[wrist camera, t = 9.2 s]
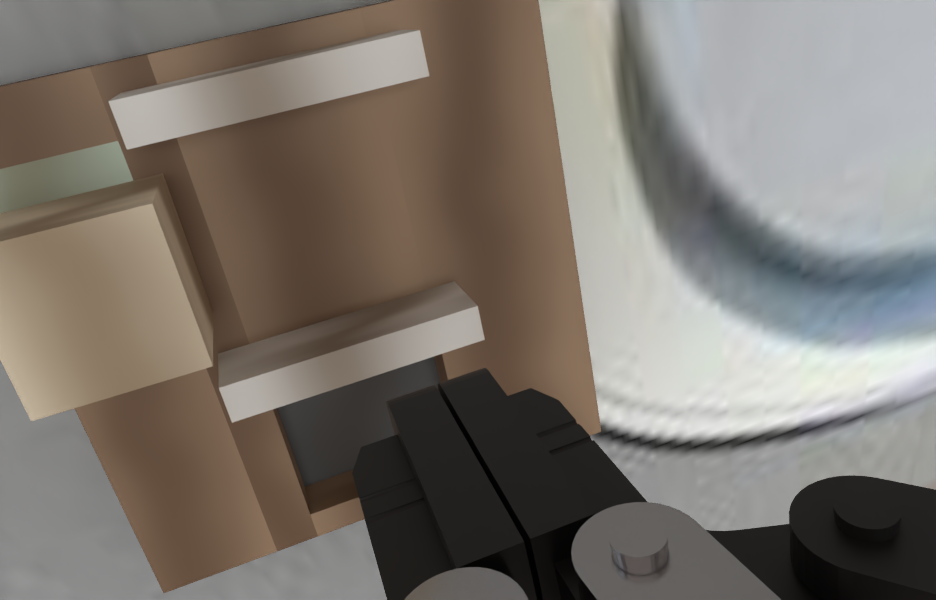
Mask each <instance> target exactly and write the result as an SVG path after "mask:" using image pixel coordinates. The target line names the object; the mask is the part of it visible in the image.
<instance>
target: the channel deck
mask: <svg viewBox="0 0 936 600" xmlns="http://www.w3.org/2000/svg"><path fill="white" fill-rule="evenodd" d="M159 174H163V175H164V178H165V181H166V184H167V186H168V189H169V192H170V195H171V197H172V200H173V203H174V206H175V208H176V211H177V214H178V217H179V220H180V222H181V225H182V228H183V231H184V233H185V236H186V239H187V242H188V245H189V247H190V250H191V253H192V256H193V258H194V261H195V264H196V267H197V269H198V272H199V275H200V278H201V281H202V283H203V286H204V289H205V292H206V294H207V297H208V300H209V303H210V305H211V308H212V311H213V366H212V367H209V368H206V369H202V370H199V371H196V372H193V373H189V374H186V375H183V376H179V377H176V378H173V379H169V380H166V381H163V382H160V383H156V384H153V385H150V386H146V387H143V388H140V389H136V390H133V391H130V392H127V393H123V394H120V395H117V396H113V397H110V398H107V399H103V400H100V401H97V402H94V403H90V404H87V405H84V406H80V407H77V408H75V410H76V412H77V415H78V417H79V419H80V421H81V423H82V425H83V427H84V429H85V431H86V433H87V435H88V437H89V439H90V441H91V444H92V446H93V448H94V450H95V452H96V454H97V456H98V458H99V460H100V462H101V464H102V466H103V468H104V470H105V473H106V475H107V477H108V479H109V481H110V483H111V485H112V487H113V489H114V491H115V493H116V495H117V497H118V499H119V502H120V504H121V506H122V508H123V510H124V512H125V514H126V516H127V518H128V520H129V522H130V524H131V526H132V528H133V531H134V533H135V535H136V537H137V539H138V541H139V543H140V545H141V547H142V549H143V551H144V553H145V555H146V557H147V560H148V562H149V564H150V566H151V568H152V570H153V572H154V574H155V576H156V578H157V580H158V582H159V584H160V586H161V589H162V591H163V593H166V592H168V591H171V590H174V589H176V588H179V587H182V586H184V585H187V584H190V583H193V582H195V581H198V580H201V579H203V578H206V577H209V576H212V575H214V574H217V573H220V572H222V571H225V570H228V569H230V568H233V567H236V566H239V565H241V564H244V563H247V562H249V561H252V560H255V559H258V558H260V557H263V556H266V555H268V554H271V553H274V552H276V551H279V550H282V549H285V548H287V547H290V546H293V545H295V544H298V543H301V542H303V541H306V540H309V539H312V538H314V537H317V536H320V535H322V534H325V533H328V532H331V531H333V530H336V529H339V528H341V527H344V526H347V525H349V524H352V523H355V522H358V521H360V520H363V519H365V518H364V514H363V511H362V507H361V503H360V500H359V496H358V493H357V489H356V485H355V482H354V478H353V475H352V472H353V469H354V466H355V463H356V460H357V457H358V454H359V451H360V449H361V447H363V446H365V445H368V444H371V443H374V442H377V441H380V440H383V439H386V438H388V437H391V436H394V435H395V434H394V430H393V427H392V423H391V420H390V416H389V413H388V409H387V405H386V401H388V400H391V399H394V398H397V397H400V396H403V395H406V394H409V393H412V392H415V391H418V390H421V389H423V388H426V387H429V386H432V385H435V386H436V388H437V384H438V383H441V382H444V381H447V380H450V379H453V378H456V377H459V376H461V375H464V374H467V373H470V372H473V371H476V370H479V369H482V368H486V369H488V371H489V372H490V373H491V375H492V376H493V377H494V379H495V380H496V381H497V383H498V384H499V385H500V387H501V388H502V389H503V391H504V392H505V393H506V395H507V396H509V395H512V394H515V393H517V392H520V391H523V390H526V389H529V388H532V389H534V390H537V391H539V392H541V393H544V394H546V395H548V396H551V397H553V398H555V399H557V400H559V401H560V402H561V403H562V404H563V406H564V407H565V408H566V409H567V410H568V411H569V413H570V414H571V415H572V416H573V417H574V418H575V419H576V422H577V424H580V425H581V426H582V427H583V429H584V430H585V431H586V432H587V433H588V434H589V436H590V435H593V434H596V433H598V432H601V427H600V420H599V413H598V406H597V400H596V393H595V386H594V379H593V372H592V365H591V359H590V352H589V345H588V338H587V331H586V324H585V318H584V311H583V304H582V297H581V290H580V283H579V276H578V270H577V263H576V256H575V249H574V242H573V235H572V229H571V222H570V215H569V208H568V201H567V194H566V188H565V181H564V174H563V167H562V160H561V153H560V146H559V140H558V133H557V126H556V119H555V112H554V105H553V99H552V92H551V85H550V78H549V71H548V64H547V58H546V51H545V44H544V37H543V30H542V23H541V17H540V10H539V3H538V0H390V1H386V2H381V3H377V4H372V5H367V6H363V7H358V8H354V9H349V10H345V11H340V12H335V13H331V14H326V15H322V16H317V17H312V18H308V19H303V20H299V21H294V22H290V23H285V24H280V25H276V26H271V27H267V28H262V29H257V30H253V31H248V32H244V33H239V34H235V35H230V36H225V37H221V38H216V39H212V40H207V41H203V42H198V43H193V44H189V45H184V46H180V47H175V48H170V49H166V50H161V51H157V52H152V53H148V54H143V55H138V56H134V57H129V58H125V59H120V60H116V61H111V62H106V63H102V64H97V65H93V66H88V67H83V68H79V69H74V70H70V71H65V72H61V73H56V74H51V75H47V76H42V77H38V78H33V79H29V80H24V81H19V82H15V83H10V84H6V85H1V86H0V213H3V212H7V211H11V210H16V209H20V208H24V207H28V206H32V205H36V204H40V203H44V202H48V201H52V200H56V199H60V198H65V197H69V196H73V195H77V194H81V193H85V192H89V191H93V190H97V189H101V188H105V187H110V186H114V185H118V184H122V183H126V182H130V181H134V180H138V179H142V178H146V177H150V176H155V175H159Z"/></svg>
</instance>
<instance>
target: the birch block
mask: <svg viewBox="0 0 936 600" xmlns="http://www.w3.org/2000/svg"><path fill="white" fill-rule="evenodd" d="M0 360H1V362H2V364H3V366H4V368H5V370H6V372H7V374H8V376H9V378H10V380H11V382H12V384H13V386H14V388H15V390H16V392H17V394H18V396H19V398H20V400H21V402H22V404H23V406H24V408H25V410H26V412H27V414H28V416H29V418H30V420H31V421H34V420H37V419H41V418H44V417H47V416H51V415H54V414H57V413H61V412H64V411H67V410H70V409H74V408H77V407H80V406H84V405H87V404H90V403H94V402H97V401H100V400H103V399H107V398H110V397H113V396H117V395H120V394H123V393H127V392H130V391H133V390H136V389H140V388H143V387H146V386H150V385H153V384H156V383H160V382H163V381H166V380H169V379H173V378H176V377H179V376H183V375H186V374H189V373H193V372H196V371H199V370H202V369H206V368H209V367H212V366H213V311H212V308H211V305H210V303H209V300H208V297H207V294H206V292H205V289H204V286H203V283H202V281H201V278H200V275H199V272H198V269H197V267H196V264H195V261H194V258H193V256H192V253H191V250H190V247H189V245H188V242H187V239H186V236H185V233H184V231H183V228H182V225H181V222H180V220H179V217H178V214H177V211H176V208H175V206H174V203H173V200H172V197H171V195H170V192H169V189H168V186H167V184H166V181H165V178H164V175H163V174H159V175H155V176H150V177H146V178H142V179H138V180H134V181H130V182H126V183H122V184H118V185H114V186H110V187H105V188H101V189H97V190H93V191H89V192H85V193H81V194H77V195H73V196H69V197H65V198H60V199H56V200H52V201H48V202H44V203H40V204H36V205H32V206H28V207H24V208H20V209H16V210H11V211H7V212H3V213H0Z"/></svg>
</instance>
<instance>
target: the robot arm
mask: <svg viewBox="0 0 936 600" xmlns="http://www.w3.org/2000/svg"><path fill="white" fill-rule="evenodd" d="M386 405H387V409H388V413H389V416H390V420H391V423H392V427H393V430H394V434H395V435H394V436H391V437H388V438H386V439H383V440H380V441H377V442H374V443H371V444H368V445H365V446H363V447H361V449H360V451H359V454H358V457H357V460H356V463H355V466H354V469H353V472H352V475H353V478H354V482H355V485H356V489H357V493H358V496H359V500H360V503H361V507H362V511H363V514H364V518H365V521H366V524H367V528H368V532H369V536H370V539H371V543H372V546H373V550H374V554H375V557H376V561H377V564H378V568H379V572H380V575H381V579H382V582H383V586H384V590H385V593H386V597H387V600H936V490H934V489H929V488H924V487H919V486H914V485H909V484H904V483H899V482H894V481H889V480H884V479H879V478H873V477H867V476H838V477H832V478H827V479H823V480H820V481H817V482H815V483H813V484H810V485H808V486H807V487H805V488H804V489H803V490H801V491H800V492H799V493H798V494H797V495H796V496H795V498H794V500H793V501H792V503H791V506H790V511H789V524H786V525H777V526H769V527H761V528H752V529H744V530H735V531H709V530H705V529H704V528H703V527H702V526H701V525H700V524H698V523H697V522H696V521H695V520H694V519H692V518H691V517H690V516H689V515H687V514H685V513H683V512H682V511H680V510H677V509H675V508H672V507H670V506H666V505H662V504H658V503H649V502H647V501H646V500H645V499H644V498H643V496H642V495H641V494H640V493H639V492H638V491H637V490H636V488H635V487H634V486H633V485H632V484H631V483H630V482H629V480H628V479H627V478H626V477H625V476H624V475H623V473H622V472H621V471H620V470H619V469H618V468H617V467H616V465H615V464H614V463H613V462H612V461H611V460H610V459H609V457H608V456H607V455H606V454H605V453H604V452H603V450H602V449H601V448H600V447H599V446H598V445H597V444H596V442H595V441H594V440H593V441H592V440H591V438H590V436H589V434H588V433H587V432H586V431H585V430H584V429H583V427H582V426H581V425H580V424H577V422H576V419H575V418H574V417H573V416H572V415H571V414H570V413H569V411H568V410H567V409H566V408H565V407H564V406H563V404H562V403H561V402H560V401H559V400H557V399H555V398H553V397H551V396H548V395H546V394H544V393H541V392H539V391H537V390H534V389H532V388H529V389H526V390H523V391H520V392H517V393H515V394H512V395H509V396H507V395H506V393H505V392H504V391H503V389H502V388H501V387H500V385H499V384H498V383H497V381H496V380H495V379H494V377H493V376H492V375H491V373H490V372H489V371H488V369H486V368H482V369H479V370H476V371H473V372H470V373H467V374H464V375H461V376H459V377H456V378H453V379H450V380H447V381H444V382H441V383H438V384H437V388H436V386H435V385H432V386H429V387H426V388H423V389H421V390H418V391H415V392H412V393H409V394H406V395H403V396H400V397H397V398H394V399H391V400H388V401H386Z"/></svg>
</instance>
